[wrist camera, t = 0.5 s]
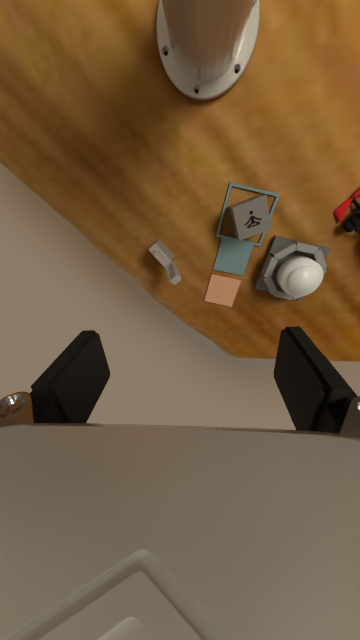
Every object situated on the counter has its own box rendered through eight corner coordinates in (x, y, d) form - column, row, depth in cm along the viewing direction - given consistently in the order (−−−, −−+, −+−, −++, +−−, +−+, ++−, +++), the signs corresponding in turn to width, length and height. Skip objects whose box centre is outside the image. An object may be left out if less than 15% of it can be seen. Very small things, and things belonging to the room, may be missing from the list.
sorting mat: (229, 182, 35) (230, 182, 35) (279, 194, 35) (279, 194, 35) (198, 299, 46) (198, 299, 45) (236, 307, 46) (237, 308, 46)
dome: (286, 252, 36) (294, 256, 33) (322, 260, 36) (333, 265, 33) (270, 286, 39) (276, 294, 36) (304, 294, 40) (312, 302, 37)
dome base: (274, 235, 38) (279, 238, 36) (327, 247, 38) (337, 251, 36) (253, 287, 43) (257, 292, 41) (301, 297, 43) (307, 303, 41)
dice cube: (235, 235, 39) (239, 240, 35) (228, 206, 37) (232, 207, 32) (263, 225, 38) (271, 229, 33) (258, 195, 35) (266, 194, 31)
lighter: (153, 245, 41) (143, 254, 34) (159, 238, 40) (150, 247, 33) (178, 272, 43) (173, 286, 36) (184, 267, 42) (181, 280, 35)
